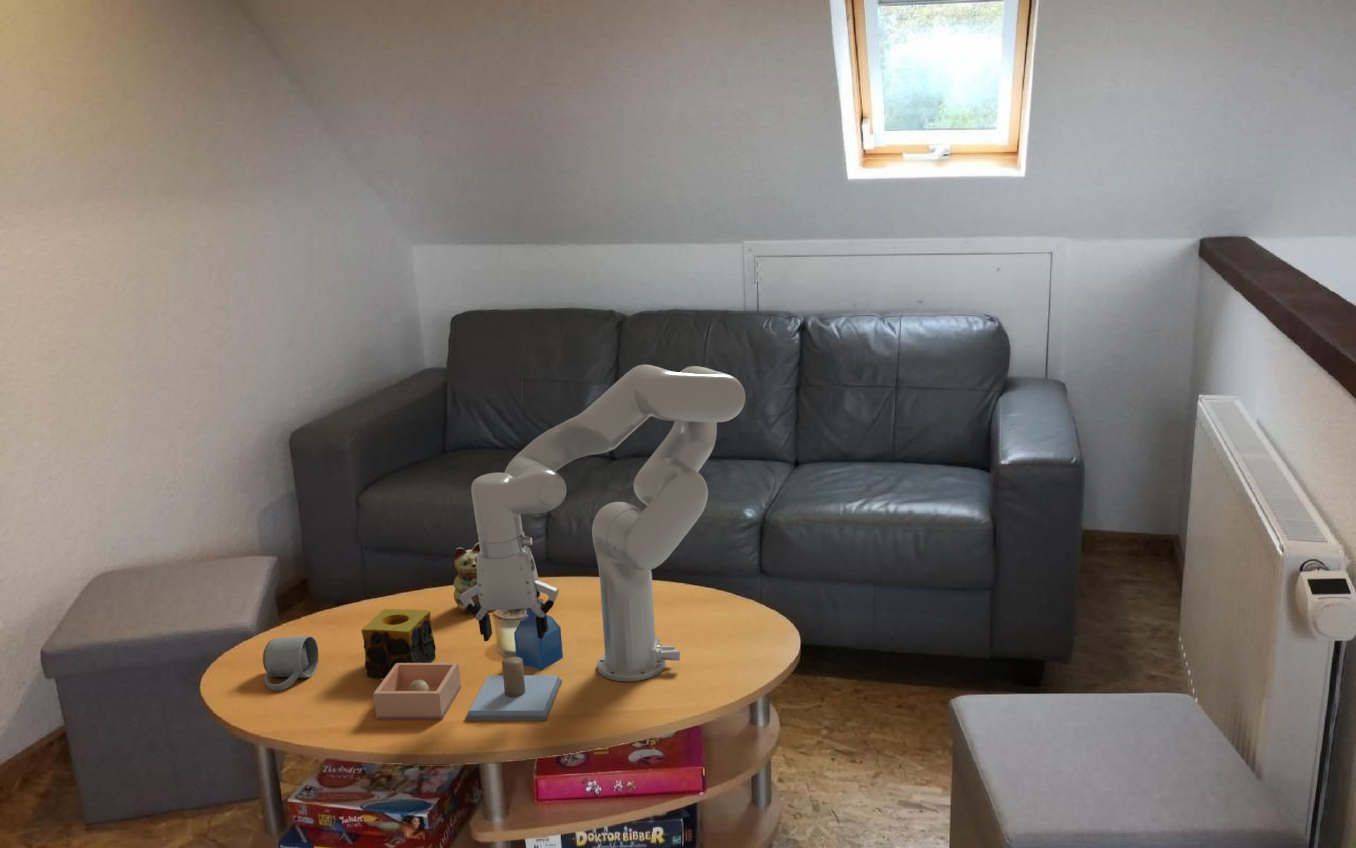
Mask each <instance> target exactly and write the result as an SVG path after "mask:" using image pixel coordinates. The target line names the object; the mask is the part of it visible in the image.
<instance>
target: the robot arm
mask: <svg viewBox="0 0 1356 848" xmlns="http://www.w3.org/2000/svg"><path fill="white" fill-rule="evenodd" d="M745 402H746V391H745V389H744V386H743V385H742V383H741V382H740V381H739V380H738V378H736V377H734V376H732V375H730V374H727V373H725V372H721V371H717V370H714V369H711V368H708V367H703V366H697V365H692V366H687V367H685V368H684V369H681V371H680V372H677V371H672V370H668V369H664V368H662V367H659V366H655V365H653V364H652V365H651V364H640V365H636V366H635V367H632V369H630V370H628V371H627V372H626V373H625V374H624V375H622V376H621V377H620V379H618V380H617V381H616V382H615V383H614V384H612V385H611V386H610V387H609V388H608V389H607V390H606V391H605V392H603V394H601V396H599V397H598V398H597V399H596V400H595V401H593V402H592V403H591V404H590V405H589V406H588V407H586V409H584V410H583V411H582V412H581V413H579V414H577V415H575V416H574V417H571V418H568V419H567V420H565V421H564V422H561V423H560V424H557V425H555V426H554V427H552V428H550V429H547V430H546V431H545V432H543V433H541V434H540V435H538V436H537V437H536V438H534V439H533V440H532V441H531V442H529V444H527V445H526V446H525V447H524V448H523V449H522V450H521V451H519V452H518V453H517V454H516V455H515V456H514V457H513V458H512V459H511V460H510V462H508V465H507V466H506V468H505V469H504V472H491V473H486V474H482V475H480V476H478V477H476V478H475V479H473V481H472V483H471V486H470V487H471V488H470V489H471V498H472V504H473V505H472V506H473V511H474V517H475V518H474V519H475V524H476V532H477V537H478V543H479V545H480V552H479V554H478V557H477V585H475V586H474V587H472V588H470V589H469V590H467V591H465V592H464V593H462V594H461V596H460V600H461V601H462V603H463V604H464V606H466V609H467V611H466V612H468V611H469V612H470V613H471V614H472V615H471V616H474V618H475V620H476V621H478V626H479V631H480V635H482V636H483V641H484V642H489V640H490V639H491V637H492V635H493V629H492V623H491V616H490V615H491V614H489V611H488V610H492V611H504V610H505V611H506V610H526V608H530V609H531V610H532V611H533V612H535V613H536V614H537V617H536V626H537V633H538V638H539V639H543V637H544V635H545V632H547V631H548V622H547V615H548V612H550V610H551V609H552V608H553V606H554V604H555V602H556V600H557V597H558V595H559V593H560V592H559V591H560V590H559V588H557V587H556V586H555V587H554V586H552V585H549V584H548V583H544V582H543V581H541V580H539V575H538V571H537V570H538V569H537V567H536V563H535V559H534V556H533V554H532V550H531V548H530V547H529V546H533V538H532V536H530V537H528V536H526V535H525V532H524V531H523V524H522V517H521V515H525V514H527V515H528V514H538V513H546V512H550V511H552V510H555V509H556V508H558V507H559V506H560V505H561V504H562V503H563V502H564V500H565V499H566V496H567V495H566V494H567V485H566V482H565V480H564V479H563V476H561V475H560V473H558V472H557V471H558V470H560V469H561V468H563V467H564V466H565V465H567V464H569V463H571V462H572V461H574V460H577V459H579V458H584V457H587V456H588V457H589V456H592V455H599V454H604V453H608V452H610V451H613V450H615V449H616V448H617V447H618V446H619V445H621V444H622V442H624V441H625V440H626V439H627V438H628V437H629V436H630V435H631V434H632V433H633V432H634V431H636V430H637V429H638V428H640V426H642V424H643V423H644V422H645V421H647V420H648V419H649V418H650V417H654V418H656V419H659V420H663V421H671V422H673V426H672V427H671V430H670V431H669V433H668V434H667V435H666V437H665V438H664V440H663V441H662V442H661V443H660V444H659V446H658V447H657V448H656V449H655V451H654V452H653V453H652V455H651V456H650V457H649V458H648V459H647V460H646V462H645V463H644V465H642V467H641V468H640V469H639V471H638V472H637V474H636V476H635V478H634V481H633V492H634V494H635V496H636V497H637V498H638V500H639V501H641V502H642V503H643V504H644V505H646V507H645V509H643V510H642V509H640V508H639V507H637V506H636V505H633V504H631V503H628V502H625V501H614V502H610V503H607V504H605V505H603V507H601V508H600V509H599V511H597V513H596V515H595V517H594V518H593V519H594V520H593V522H592V527H591V528H592V529H591V531H592V532H591V533H592V535H591V536H592V543H593V548H594V551H595V556H596V562H597V566H598V574H599V586H600V600H601V601H600V603H601V604H600V605H601V615H602V618H601V619H602V629H603V630H602V631H603V644H604V645H603V646H604V654H602V656H600V658H599V659H598V661H597V664H596V665H597V666H596V667H597V671H598V673H599V674H600V675H601V676H603V677H604V678H606V679H609V680H612V681H617V682H637V681H638V682H639V681H643V680H646V679H650V678H652V677H655V676H656V675H658V674H659V673H660V674H661V672H662V671H663V670H664V669H665V667H666V661H677V662H678V661H679V662H680V660H681V650H680V649H676V647H675V645H663V644H660V638H659V637H656V626H655V623H656V622H655V608H654V594H653V592H654V589H653V587H654V586H653V574H652V570H654V569H656V568H657V567H659V566H660V565H662V564H663V563H664V562H665V561H666V560H667V559H668V558H669V557H670V555H671V554H672V553H673V551H675V549H676V548H677V547H678V546H679V545H680V543H681V542H682V541H683V540H684V538H685V537H686V535H687V534H688V533H689V532H690V530H691V529H692V528H693V527H694V525H695V523H697V522H698V520H699V518H700V517H701V515H703V512H704V510H705V508H706V505H707V502H708V497H709V496H708V495H709V490H708V484H707V482H706V479H704V476H703V475H702V474H701V473H700V472H699V471H700V470H701V468H702V467H703V465H705V462H707V460H708V459H709V457H710V456H711V454H712V452H713V450H714V448H715V445H716V440H717V433H718V432H717V431H718V427H717V426H718V425H717V424H718V423H723V422H724V423H725V422H729V421H730V420H733V419H734V418H736V417H737V416H738V415H739V414H740V413H741V411H742V410H743V409H744V406H745V404H746V403H745ZM542 593H543V594H545V595H547V596H548V598H547V600H546V601H545V602H544V600H543V601H541V600H540V599H541V598H540V597H541V594H542ZM477 594H478V598H479V604H480V606H481V607H480V606H478V605H477V604H476V603H475V602H473V601H472V599H471V597H473V596H475V595H477ZM487 611H488V612H487ZM469 612H468V613H469Z"/></svg>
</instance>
